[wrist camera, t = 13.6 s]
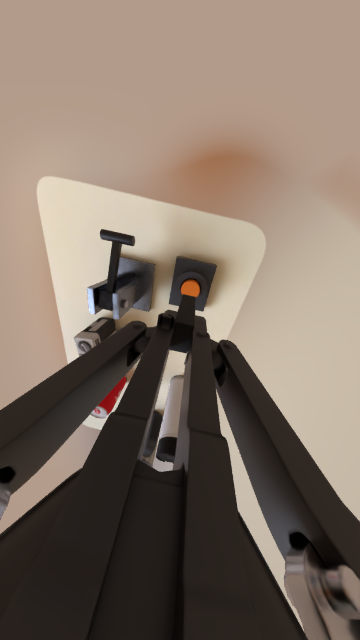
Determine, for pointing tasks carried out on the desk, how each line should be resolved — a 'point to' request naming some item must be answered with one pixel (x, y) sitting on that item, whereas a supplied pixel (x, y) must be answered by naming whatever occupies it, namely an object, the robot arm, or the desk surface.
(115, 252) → the switch lever
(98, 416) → the beverage can
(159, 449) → the travel mug
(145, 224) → the desk surface
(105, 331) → the camera
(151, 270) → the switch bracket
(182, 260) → the control block
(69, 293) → the desk surface
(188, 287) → the button
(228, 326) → the desk surface
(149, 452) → the milk frother
